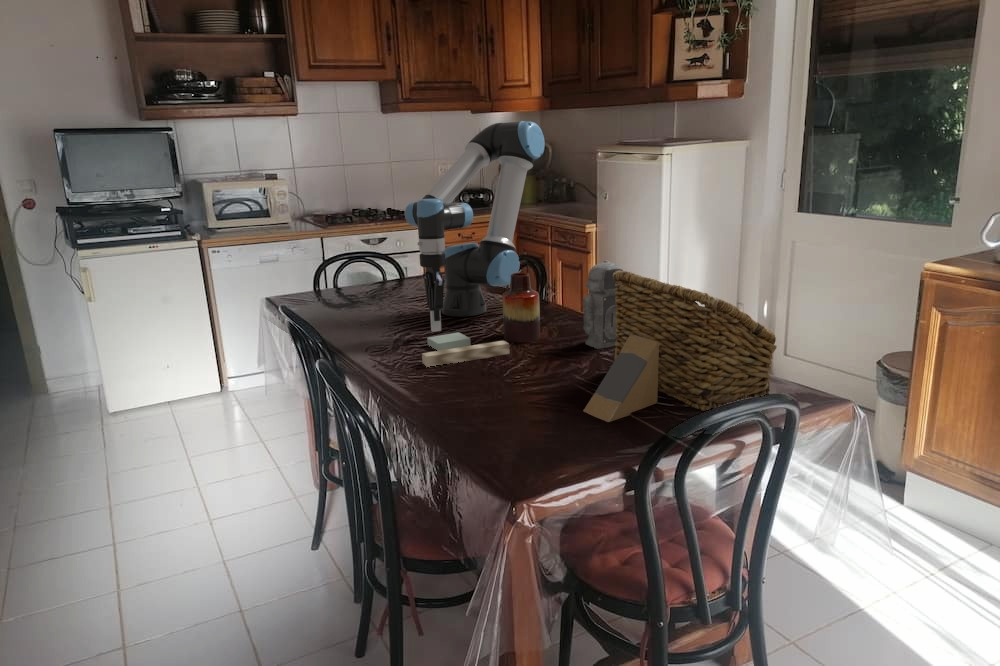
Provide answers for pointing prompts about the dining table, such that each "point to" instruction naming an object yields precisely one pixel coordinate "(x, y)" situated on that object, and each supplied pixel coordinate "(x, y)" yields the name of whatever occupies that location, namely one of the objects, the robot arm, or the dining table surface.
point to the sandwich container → (628, 381)
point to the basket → (695, 341)
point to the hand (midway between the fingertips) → (436, 330)
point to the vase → (521, 310)
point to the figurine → (601, 306)
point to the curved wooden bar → (465, 353)
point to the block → (448, 341)
